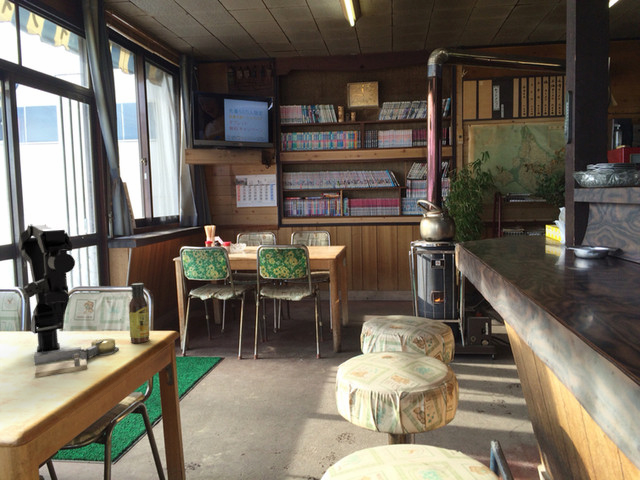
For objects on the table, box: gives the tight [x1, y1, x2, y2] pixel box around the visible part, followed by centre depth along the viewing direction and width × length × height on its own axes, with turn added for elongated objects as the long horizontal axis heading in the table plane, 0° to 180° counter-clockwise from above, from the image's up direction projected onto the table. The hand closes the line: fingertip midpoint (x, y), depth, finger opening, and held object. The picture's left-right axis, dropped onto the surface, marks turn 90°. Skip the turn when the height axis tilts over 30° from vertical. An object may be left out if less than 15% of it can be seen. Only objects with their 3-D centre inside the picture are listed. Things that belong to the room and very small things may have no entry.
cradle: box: [34, 354, 88, 378], centre depth 143 cm, size 13×6×3 cm, turn 117°
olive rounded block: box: [79, 338, 116, 360], centre depth 157 cm, size 14×7×3 cm, turn 169°
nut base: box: [92, 346, 120, 357], centre depth 160 cm, size 9×9×1 cm
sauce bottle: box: [128, 282, 150, 344], centre depth 170 cm, size 6×6×20 cm
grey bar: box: [33, 346, 82, 365], centre depth 153 cm, size 13×4×3 cm, turn 117°
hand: (59, 320), depth 153 cm, fingers open, 7 cm apart
